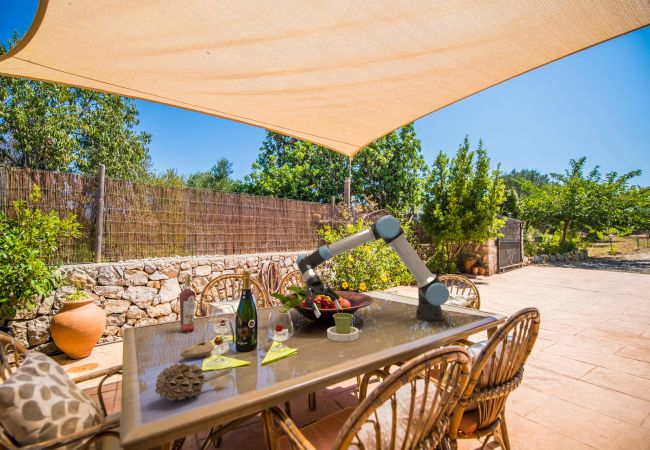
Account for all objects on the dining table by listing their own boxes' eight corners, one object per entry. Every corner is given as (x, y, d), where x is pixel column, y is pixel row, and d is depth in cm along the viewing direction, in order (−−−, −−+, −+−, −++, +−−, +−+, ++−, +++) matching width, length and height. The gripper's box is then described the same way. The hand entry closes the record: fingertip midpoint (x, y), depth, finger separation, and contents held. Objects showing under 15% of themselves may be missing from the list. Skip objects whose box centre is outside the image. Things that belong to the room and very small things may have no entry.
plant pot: (353, 331, 151) (353, 313, 151) (353, 337, 141) (353, 318, 142) (333, 331, 151) (333, 313, 152) (332, 337, 142) (332, 318, 142)
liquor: (185, 334, 152) (185, 276, 153) (175, 332, 156) (176, 275, 157) (198, 330, 158) (198, 274, 160) (189, 328, 162) (189, 273, 164)
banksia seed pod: (158, 414, 82) (158, 376, 83) (151, 400, 90) (151, 364, 90) (238, 389, 96) (238, 355, 97) (226, 378, 104) (226, 347, 104)
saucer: (363, 334, 149) (363, 328, 149) (350, 343, 136) (350, 336, 136) (335, 330, 156) (335, 324, 156) (321, 338, 143) (321, 332, 143)
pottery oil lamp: (174, 358, 120) (179, 339, 124) (204, 361, 127) (208, 343, 131) (184, 355, 115) (188, 335, 118) (215, 359, 122) (218, 340, 126)
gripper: (328, 282, 176) (346, 314, 163) (289, 286, 161) (305, 322, 148) (334, 273, 172) (352, 305, 159) (294, 277, 157) (312, 313, 144)
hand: (330, 314), depth 154 cm, fingers open, 13 cm apart
